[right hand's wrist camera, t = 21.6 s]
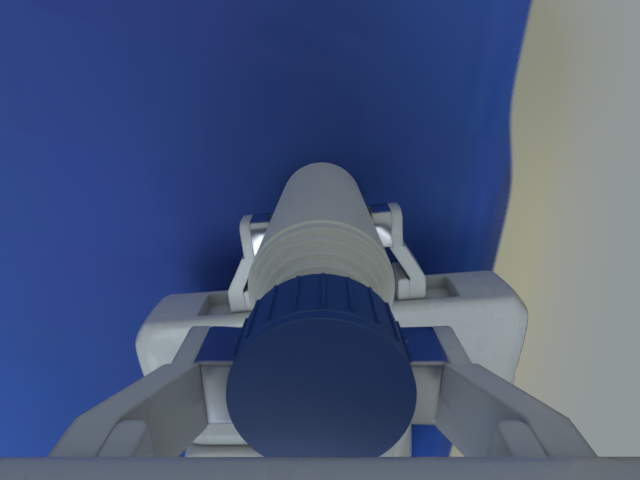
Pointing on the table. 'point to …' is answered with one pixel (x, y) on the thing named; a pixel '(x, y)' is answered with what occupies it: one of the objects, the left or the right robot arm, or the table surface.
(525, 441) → the right robot arm
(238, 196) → the table surface
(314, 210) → the bottle
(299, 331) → the cap
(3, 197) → the table surface
